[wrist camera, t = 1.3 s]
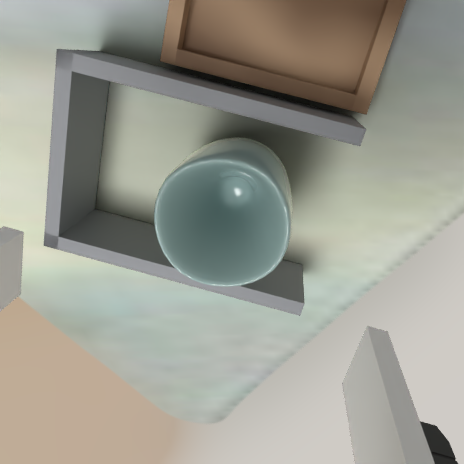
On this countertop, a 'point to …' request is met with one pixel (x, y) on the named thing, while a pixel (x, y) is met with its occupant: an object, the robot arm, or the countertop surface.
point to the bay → (89, 155)
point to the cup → (225, 213)
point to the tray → (287, 44)
